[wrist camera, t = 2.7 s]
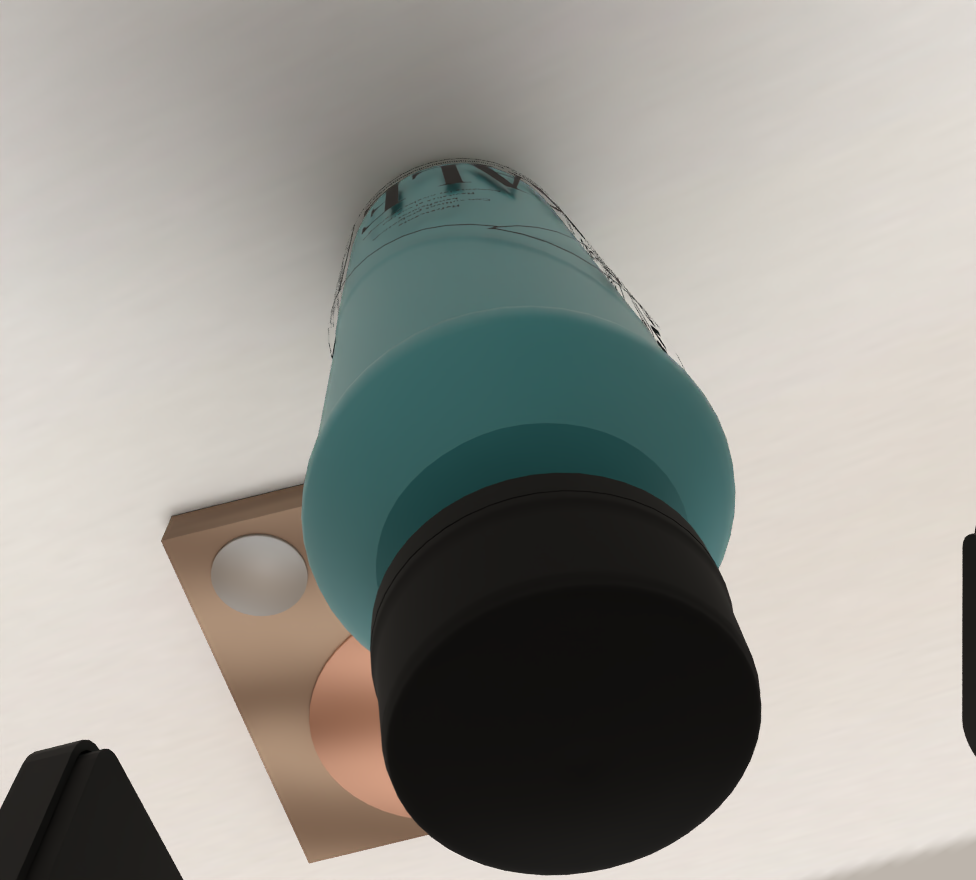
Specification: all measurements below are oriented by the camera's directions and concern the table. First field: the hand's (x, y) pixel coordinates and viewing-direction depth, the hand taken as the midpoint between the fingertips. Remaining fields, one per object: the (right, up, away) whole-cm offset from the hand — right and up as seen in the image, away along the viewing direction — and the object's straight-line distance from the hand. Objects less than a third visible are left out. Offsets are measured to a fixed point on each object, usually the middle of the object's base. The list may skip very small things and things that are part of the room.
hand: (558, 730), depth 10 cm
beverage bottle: (-2, +9, +17) cm, 19 cm away
